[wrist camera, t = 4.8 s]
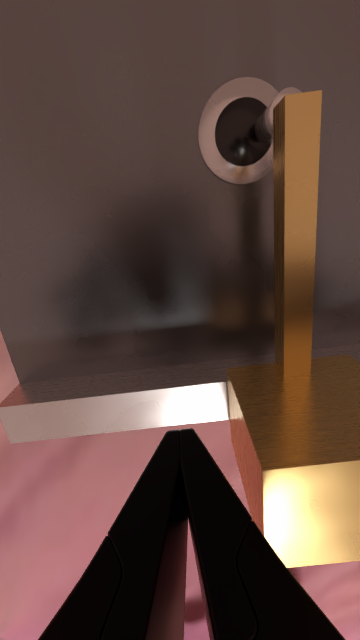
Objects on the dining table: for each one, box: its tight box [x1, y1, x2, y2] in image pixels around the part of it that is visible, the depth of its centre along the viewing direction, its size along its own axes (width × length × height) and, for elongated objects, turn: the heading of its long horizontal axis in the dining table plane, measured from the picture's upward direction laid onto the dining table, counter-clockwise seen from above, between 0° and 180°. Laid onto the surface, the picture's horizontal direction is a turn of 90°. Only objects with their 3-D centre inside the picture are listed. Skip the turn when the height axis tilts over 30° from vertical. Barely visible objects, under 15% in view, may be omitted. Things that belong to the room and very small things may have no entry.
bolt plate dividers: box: [0, 0, 360, 444], centre depth 7 cm, size 22×15×7 cm
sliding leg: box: [226, 87, 360, 568], centre depth 7 cm, size 4×10×6 cm, turn 7°
